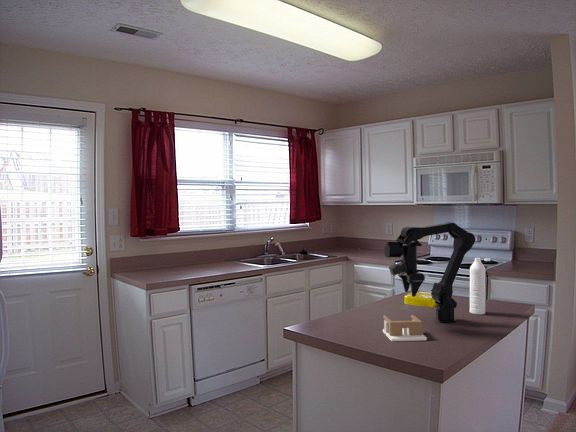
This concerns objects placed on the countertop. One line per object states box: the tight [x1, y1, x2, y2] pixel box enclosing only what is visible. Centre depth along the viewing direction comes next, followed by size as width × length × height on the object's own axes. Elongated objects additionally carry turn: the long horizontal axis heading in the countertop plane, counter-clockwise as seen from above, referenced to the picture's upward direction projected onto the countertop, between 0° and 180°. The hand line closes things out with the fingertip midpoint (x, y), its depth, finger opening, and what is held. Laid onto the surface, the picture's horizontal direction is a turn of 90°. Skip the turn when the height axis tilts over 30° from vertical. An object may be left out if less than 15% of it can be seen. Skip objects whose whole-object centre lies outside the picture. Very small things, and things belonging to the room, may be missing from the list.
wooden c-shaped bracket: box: [382, 314, 423, 336], centre depth 167 cm, size 10×12×5 cm
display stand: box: [382, 319, 428, 342], centre depth 165 cm, size 12×13×5 cm
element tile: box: [403, 290, 438, 308], centre depth 217 cm, size 15×15×5 cm
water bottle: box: [469, 257, 491, 315], centre depth 195 cm, size 9×6×25 cm
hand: (409, 294), depth 182 cm, fingers open, 9 cm apart
